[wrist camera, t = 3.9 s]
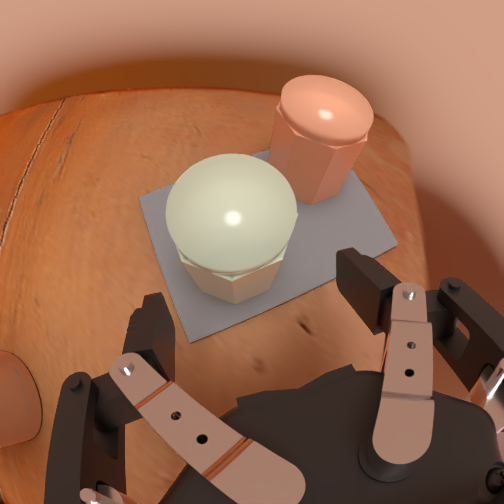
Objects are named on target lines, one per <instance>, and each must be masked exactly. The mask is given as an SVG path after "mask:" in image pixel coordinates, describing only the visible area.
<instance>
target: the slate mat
mask: <svg viewBox="0 0 504 504" xmlns="http://www.w3.org/2000/svg"><path fill="white" fill-rule="evenodd" d="M269 154H270V149H268V150H265V151H262V152H259V153H255V154H252V155H249V156H252V157H256V158H258V159H261V160H263V161H265V162H267V163H268V161H269ZM174 184H175V183H172V184H170V185H167V186H165V187H162V188H160V189H157V190H155V191H153V192H150V193H148V194H146V195H143V196H141V197H139V200H140V204H141V207H142V211H143V214H144V218H145V221H146V224H147V228H148V231H149V234H150V237H151V240H152V243H153V246H154V250H155V253H156V256H157V259H158V261H159V264H160V267H161V270H162V273H163V276H164V279H165V281H166V284H167V287H168V290H169V292H170V295H171V298H172V300H173V303H174V306H175V308H176V311H177V313H178V316H179V319H180V321H181V324H182V326H183V328H184V331H185V333H186V336H187V338H188V341H189V343H193V342H195V341H198V340H200V339H202V338H205V337H207V336H210V335H212V334H215V333H217V332H219V331H222V330H224V329H227V328H229V327H231V326H234V325H236V324H238V323H241V322H243V321H245V320H247V319H250V318H252V317H254V316H257V315H259V314H261V313H263V312H265V311H268V310H270V309H272V308H274V307H276V306H279V305H281V304H283V303H285V302H287V301H289V300H292V299H294V298H296V297H298V296H300V295H302V294H304V293H306V292H308V291H310V290H313V289H315V288H317V287H319V286H321V285H323V284H325V283H327V282H329V281H331V280H333V279H335V278H336V253H337V251H339V250H343V249H346V248H350V247H353V248H355V249H356V250H357V251H358V252H359V253H360V254H362V255H367V256H369V257H372V258H375V257H377V256H379V255H381V254H383V253H385V252H386V251H388V250H390V249H392V248H394V247H396V246H397V245H398V242H397V241H396V239H395V237H394V235H393V233H392V232H391V230H390V228H389V226H388V225H387V223H386V221H385V220H384V218H383V216H382V215H381V213H380V211H379V210H378V208H377V206H376V205H375V203H374V202H373V200H372V198H371V197H370V195H369V194H368V192H367V191H366V189H365V188H364V186H363V185H362V183H361V181H360V180H359V178H358V177H357V176H356V174H355V173H354V171H353V170H352V169H351V170H350V172H349V174H348V176H347V177H346V179H345V181H344V183H343V185H342V186H341V188H340V190H339V192H338V193H337V195H336V196H333V197H331V198H328V199H325V200H323V201H320V202H317V203H315V204H312V205H309V204H307V203H304V202H301V201H298V200H296V205H297V213H298V217H297V219H296V222H295V226H294V229H293V232H292V234H291V236H290V239H289V242H288V245H287V248H286V251H285V253H284V256H283V260H282V262H281V264H280V266H279V269H278V271H277V273H276V275H275V277H274V280H273V282H272V284H271V286H270V288H269V290H268V291H266V292H263V293H261V294H259V295H256V296H254V297H252V298H250V299H247V300H245V301H243V302H240V303H238V304H236V305H235V304H232V303H229V302H227V301H224V300H222V299H219V298H217V297H214V296H212V295H209V294H207V293H204V292H202V291H201V290H200V289H199V287H198V286H197V284H196V283H195V281H194V280H193V278H192V277H191V275H190V274H189V272H188V271H187V269H186V268H185V266H184V265H183V263H182V262H181V259H180V256H179V253H178V251H177V248H176V245H175V243H174V241H173V239H172V237H171V235H170V233H169V231H168V227H167V223H166V218H165V216H166V204H167V199H168V196H169V193H170V191H171V189H172V187H173V185H174Z"/></svg>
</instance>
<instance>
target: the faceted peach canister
mask: <svg viewBox="0 0 504 504" xmlns="http://www.w3.org/2000/svg"><path fill="white" fill-rule="evenodd" d="M372 123H373V111H372V108H371V106H370V104H369V103H368V101H367V100H366V99H365V97H364V96H363V95H362V94H361V93H359V92H358V91H357V90H356V89H354V88H353V87H351V86H349V85H348V84H346V83H344V82H342V81H339V80H337V79H334V78H330V77H326V76H320V75H306V76H300V77H297V78H294V79H292V80H290V81H289V82H288V83H287V84H286V85H285V86H284V88H283V90H282V94H281V100H280V102H279V104H278V106H277V108H276V112H275V119H274V126H273V133H272V140H271V147H270V154H269V161H268V163H269V164H270V165H272V166H273V167H275V168H276V169H277V170H278V171H279V172H280V173H281V174H282V175H283V176H284V177H285V178H286V180H287V181H288V183H289V184H290V186H291V188H292V190H293V193H294V196H295V199H296V200H298V201H301V202H304V203H307V204H309V205H312V204H315V203H317V202H320V201H323V200H325V199H328V198H331V197H333V196H336V195H337V193H338V192H339V190H340V188H341V186H342V185H343V183H344V181H345V179H346V177H347V176H348V174H349V172H350V170H351V169H352V167H353V165H354V163H355V161H356V160H357V158H358V156H359V154H360V152H361V151H362V149H363V147H364V145H365V143H366V141H367V135H368V130H369V129H370V127H371V125H372Z"/></svg>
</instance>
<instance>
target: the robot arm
mask: <svg viewBox="0 0 504 504" xmlns="http://www.w3.org/2000/svg"><path fill="white" fill-rule="evenodd" d="M336 283H337V287H338V289H339V291H340V293H341V294H342V295H343V296H344V298H345V299H346V300H347V301H348V303H349V304H350V305H351V306H352V308H353V309H354V310H355V311H356V313H357V314H358V315H359V316H360V318H361V319H362V320H363V321H364V323H365V324H366V325H367V326H368V328H369V329H370V330H371V332H372V333H373V334H374V335H376V334H379V333H381V332H384V333H385V334H386V335H385V340H384V346H383V353H382V359H381V365H380V370H379V372H376V371H355V369H354V367H353V366H352V364H350V365H347V366H345V367H342V368H339V369H336V370H333V371H330V372H328V373H325V374H323V375H322V376H320V377H318V378H316V379H315V380H313V381H311V382H310V383H308V384H306V385H304V386H303V387H301V388H298V389H289V390H274V391H264V392H260V393H256V394H252V395H247V396H243V397H239V398H237V403H238V407H236V408H233V409H232V410H230V411H228V412H227V413H225V414H224V415H223V416H221V417H220V418H219V419H218V418H217V417H216V416H214V415H213V414H212V413H210V412H209V411H208V410H207V409H205V408H204V407H203V406H202V405H200V404H199V403H198V402H197V401H195V400H194V399H193V398H192V397H190V396H189V395H188V394H187V393H186V392H185V391H183V390H182V389H181V388H180V387H179V386H178V385H176V384H175V327H174V323H173V320H172V317H171V315H170V312H169V310H168V307H167V305H166V302H165V299H164V297H163V295H162V293H161V292H159V293H154V294H149V295H145V296H144V300H143V305H142V308H137V309H136V310H135V311H134V312H133V314H132V315H131V316H130V320H129V326H128V329H127V333H126V338H125V342H124V347H123V352H122V355H120V356H119V357H117V358H116V359H115V360H114V361H113V362H112V363H111V365H110V368H109V372H108V373H106V374H104V375H101V376H99V377H96V378H94V379H91V377H90V376H89V375H88V374H87V373H85V372H76V373H74V374H72V375H70V376H69V377H68V378H67V379H66V380H65V381H64V383H63V385H62V388H61V392H60V396H59V401H58V405H57V410H56V414H55V419H54V424H53V430H52V435H51V441H50V448H49V455H48V463H47V472H46V482H45V498H44V504H137V503H136V502H135V501H134V500H133V499H132V498H130V497H128V496H127V494H126V477H125V424H127V423H130V422H133V421H135V420H138V419H140V418H143V419H144V420H145V421H146V422H147V423H148V424H149V425H150V426H151V428H152V429H153V430H154V431H155V432H156V433H157V434H158V435H159V436H160V437H161V438H162V439H163V440H164V441H165V442H166V443H167V445H168V446H169V447H170V448H171V449H172V450H173V451H174V452H175V453H176V454H177V455H178V456H179V457H180V458H182V459H183V460H184V461H185V462H186V463H187V464H186V466H185V467H184V469H183V470H182V471H181V473H180V474H179V476H178V477H177V479H176V480H175V481H174V483H173V484H172V486H171V487H170V488H169V490H168V491H167V492H166V494H165V495H164V497H163V498H162V499H161V501H160V502H159V503H158V504H504V462H503V460H502V457H501V454H500V451H499V447H498V441H497V434H498V433H499V432H504V317H503V316H501V315H500V314H499V313H498V312H497V311H496V310H495V309H494V308H493V307H492V306H491V305H490V304H489V303H487V302H486V301H485V300H484V299H483V298H482V297H481V296H480V295H479V294H477V293H476V292H475V291H474V290H473V289H471V288H470V287H469V286H468V285H467V284H466V283H465V282H463V281H462V280H460V279H457V278H451V277H449V278H445V279H443V280H442V281H441V282H440V285H439V289H438V290H430V291H424V289H423V288H422V287H421V286H419V285H418V284H415V283H411V282H403V283H402V282H401V281H399V280H398V279H397V278H396V277H395V276H394V275H393V274H391V273H390V272H389V271H388V270H387V269H385V267H383V266H382V265H380V263H379V262H378V261H376V260H375V259H374V258H372V257H369V256H367V255H362V254H360V253H359V252H358V251H357V250H356V249H355V248H353V247H350V248H346V249H343V250H339V251H337V253H336ZM459 320H460V321H461V322H462V323H463V324H464V325H465V327H466V328H467V329H468V331H469V333H470V338H469V340H468V339H467V337H466V336H465V335H464V334H463V333H462V332H461V331H460V330H459V329H458V328H457V325H458V322H459ZM433 345H434V347H435V348H436V349H437V350H438V352H439V353H440V354H441V355H442V357H443V358H444V359H445V360H446V362H447V363H448V364H449V366H450V367H451V368H452V369H453V371H454V372H455V373H456V375H457V376H458V377H459V378H460V380H461V382H462V383H463V384H464V385H465V387H466V388H467V390H468V391H469V393H470V401H471V403H470V402H467V401H464V400H460V399H457V398H454V397H451V396H448V395H445V394H442V393H439V392H436V391H433V390H432V382H433ZM41 419H42V415H41V404H40V398H39V395H38V391H37V388H36V385H35V383H34V380H33V378H32V376H31V375H30V373H29V371H28V369H27V368H26V367H25V365H24V364H23V362H22V361H21V360H20V359H19V358H18V357H16V356H15V355H13V354H12V353H9V352H5V351H0V448H2V447H7V446H10V445H14V444H17V443H21V442H24V441H28V440H30V439H32V438H34V437H35V436H36V435H37V433H38V431H39V429H40V426H41Z"/></svg>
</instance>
